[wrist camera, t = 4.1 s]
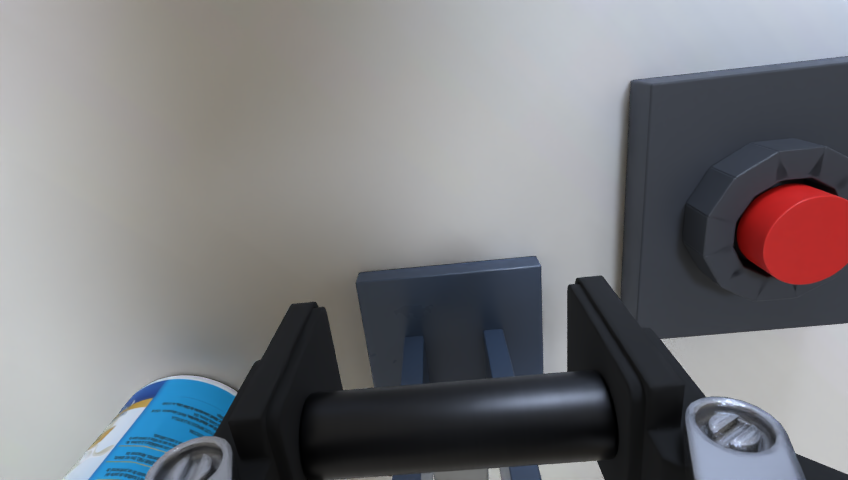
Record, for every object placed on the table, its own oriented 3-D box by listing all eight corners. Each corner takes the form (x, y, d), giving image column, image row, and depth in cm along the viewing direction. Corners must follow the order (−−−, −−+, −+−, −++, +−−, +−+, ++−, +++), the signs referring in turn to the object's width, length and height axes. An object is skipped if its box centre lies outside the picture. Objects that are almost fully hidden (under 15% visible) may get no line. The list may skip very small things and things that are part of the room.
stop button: (742, 187, 19) (771, 201, 18) (836, 178, 19) (874, 190, 17) (730, 270, 20) (756, 289, 19) (819, 261, 20) (852, 280, 19)
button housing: (630, 80, 21) (672, 87, 17) (868, 53, 21) (964, 55, 17) (619, 318, 26) (651, 364, 22) (815, 301, 25) (882, 345, 21)
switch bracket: (358, 271, 25) (292, 481, 13) (536, 255, 24) (639, 455, 12) (387, 439, 29) (358, 716, 17) (540, 427, 28) (621, 703, 16)
